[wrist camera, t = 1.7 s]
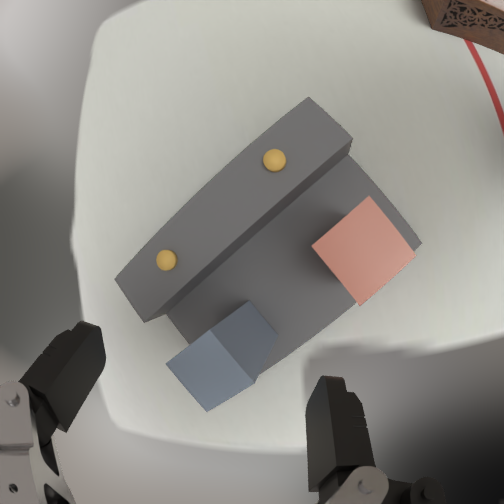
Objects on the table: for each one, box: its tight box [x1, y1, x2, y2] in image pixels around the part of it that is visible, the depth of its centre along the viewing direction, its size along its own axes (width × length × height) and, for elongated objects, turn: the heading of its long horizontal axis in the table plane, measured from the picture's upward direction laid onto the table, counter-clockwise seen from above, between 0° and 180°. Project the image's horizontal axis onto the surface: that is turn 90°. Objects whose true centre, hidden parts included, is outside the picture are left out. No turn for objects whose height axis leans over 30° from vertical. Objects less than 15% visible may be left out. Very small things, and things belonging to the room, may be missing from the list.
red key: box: [312, 196, 416, 306], centre depth 23 cm, size 5×5×12 cm
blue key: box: [166, 301, 278, 412], centre depth 26 cm, size 5×5×12 cm
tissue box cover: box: [421, 0, 504, 54], centre depth 18 cm, size 26×14×10 cm, turn 85°
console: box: [115, 97, 422, 375], centre depth 29 cm, size 28×19×7 cm
